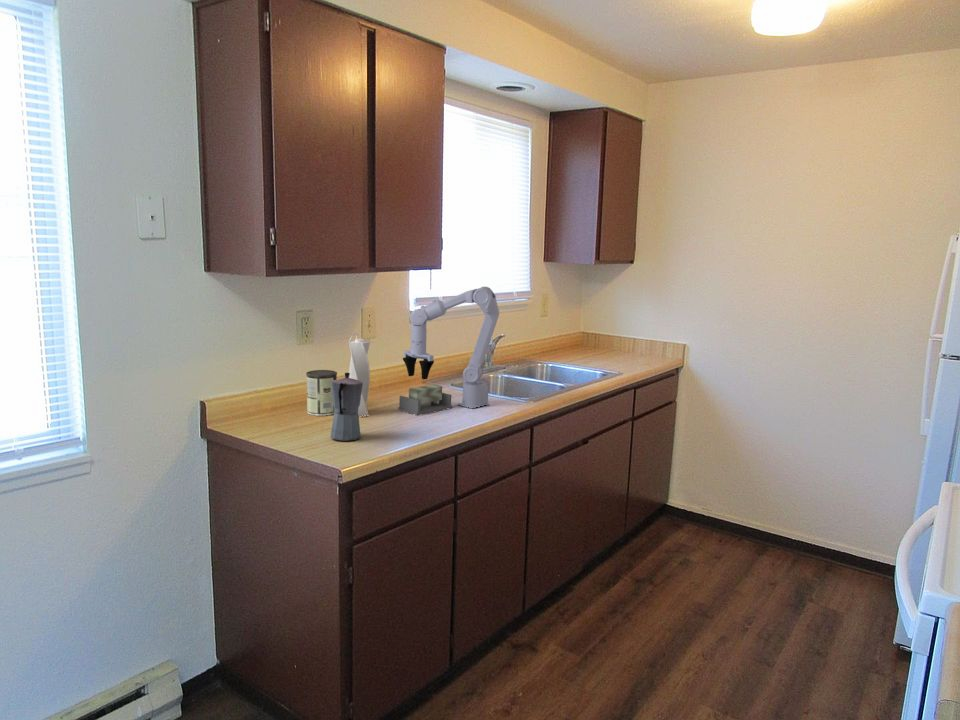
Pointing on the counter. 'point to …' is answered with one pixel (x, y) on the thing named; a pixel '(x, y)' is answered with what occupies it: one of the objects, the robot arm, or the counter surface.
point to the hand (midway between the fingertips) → (417, 377)
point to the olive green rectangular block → (426, 393)
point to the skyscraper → (360, 369)
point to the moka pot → (346, 408)
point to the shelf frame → (424, 405)
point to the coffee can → (320, 392)
